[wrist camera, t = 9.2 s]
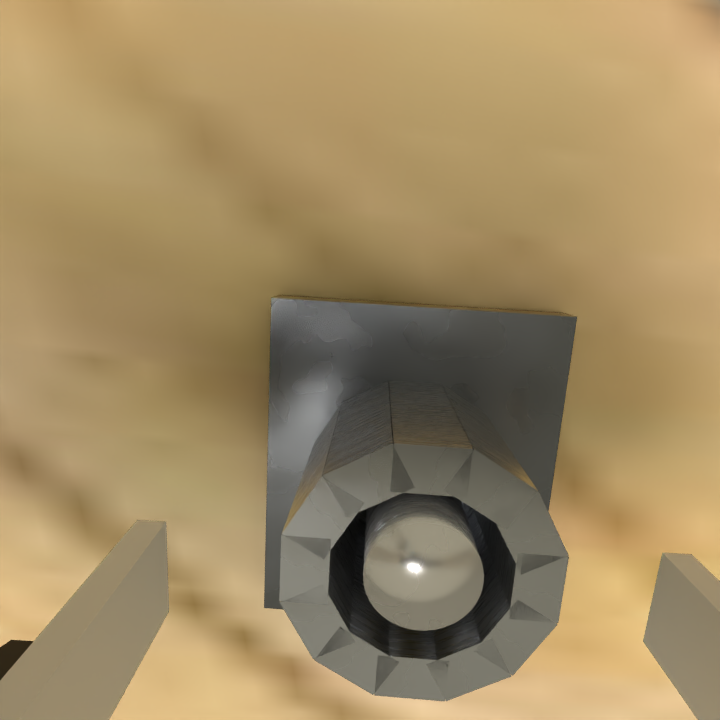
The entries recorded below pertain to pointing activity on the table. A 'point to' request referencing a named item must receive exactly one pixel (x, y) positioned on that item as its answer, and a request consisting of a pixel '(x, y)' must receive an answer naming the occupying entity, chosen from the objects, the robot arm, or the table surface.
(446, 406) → the tube
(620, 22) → the table surface
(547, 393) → the shaft block
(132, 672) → the robot arm
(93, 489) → the table surface
